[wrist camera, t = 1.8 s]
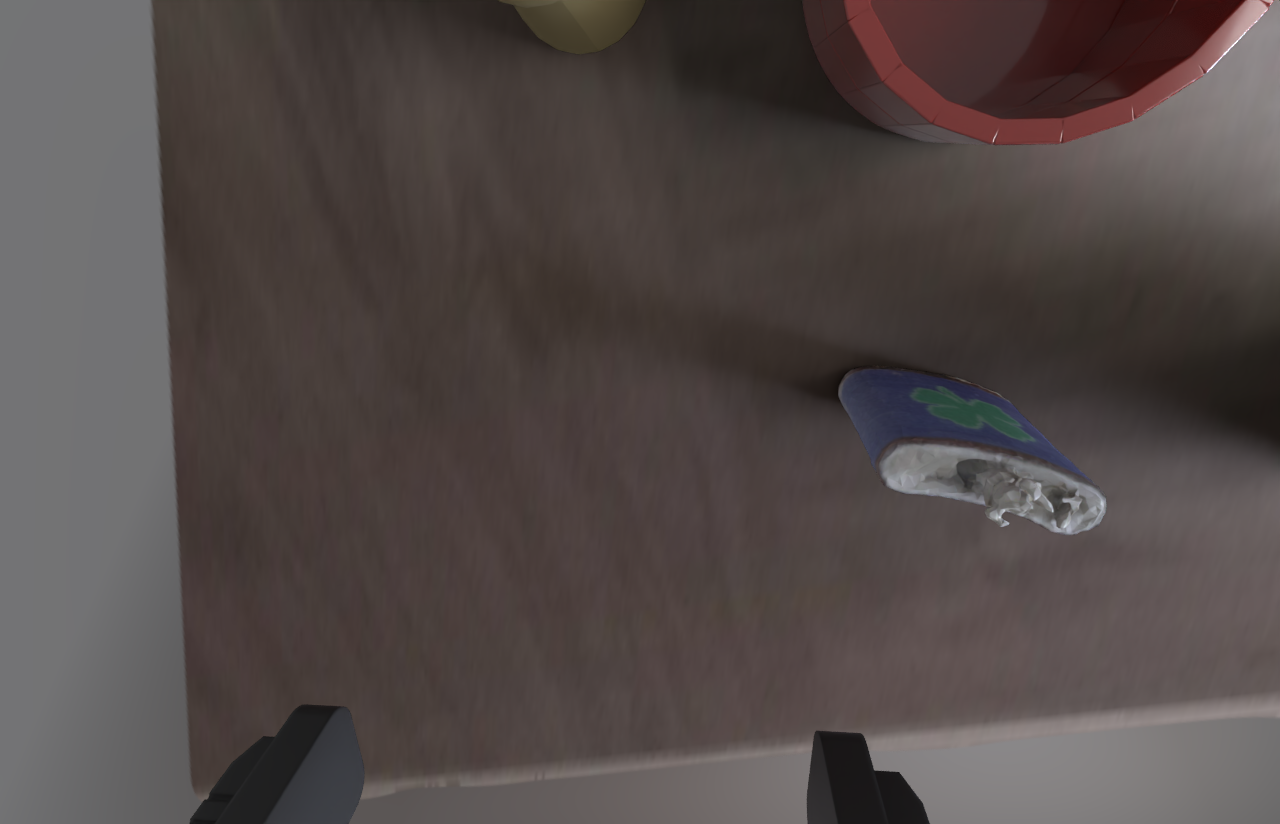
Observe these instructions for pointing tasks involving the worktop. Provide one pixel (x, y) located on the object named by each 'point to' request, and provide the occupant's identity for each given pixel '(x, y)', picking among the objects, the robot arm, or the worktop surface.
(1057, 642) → the worktop surface
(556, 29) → the cork
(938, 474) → the flask
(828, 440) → the worktop surface
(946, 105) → the pot
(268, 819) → the robot arm
